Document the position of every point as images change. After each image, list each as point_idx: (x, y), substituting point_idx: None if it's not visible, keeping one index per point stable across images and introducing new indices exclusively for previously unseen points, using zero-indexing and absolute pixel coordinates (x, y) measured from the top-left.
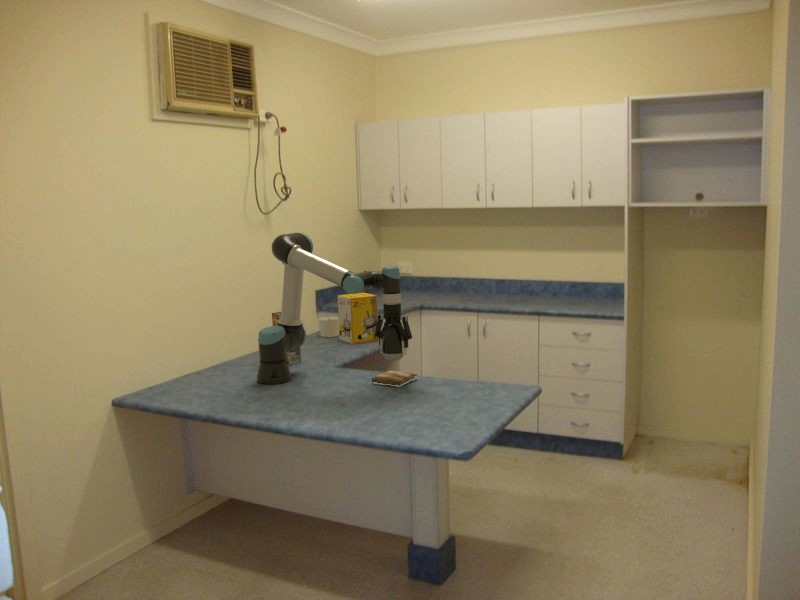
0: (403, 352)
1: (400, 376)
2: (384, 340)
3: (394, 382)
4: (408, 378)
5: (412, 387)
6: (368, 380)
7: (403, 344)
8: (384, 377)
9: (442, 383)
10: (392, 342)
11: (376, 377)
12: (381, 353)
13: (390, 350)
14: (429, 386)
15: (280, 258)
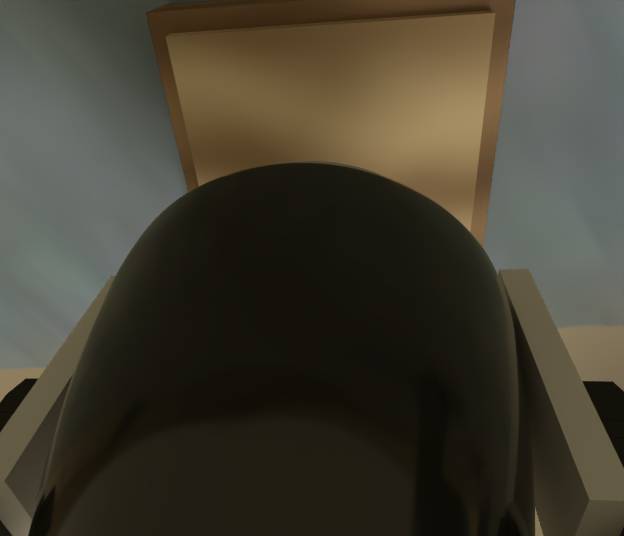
0: (91, 309)
1: (249, 162)
2: (389, 386)
3: (210, 6)
4: (187, 181)
5: (87, 77)
6: (601, 77)
7: (15, 416)
8: (369, 49)
9: (20, 271)
10: (119, 356)
11: (463, 13)
12: (515, 270)
13: (207, 207)
14: (16, 170)
15: None
